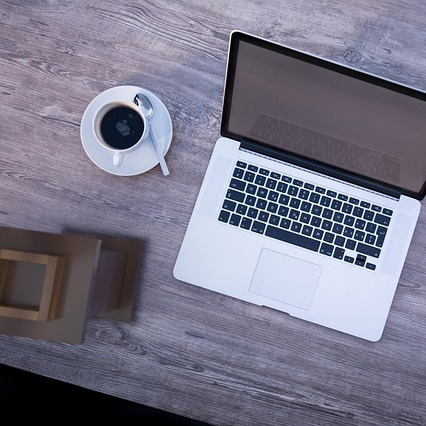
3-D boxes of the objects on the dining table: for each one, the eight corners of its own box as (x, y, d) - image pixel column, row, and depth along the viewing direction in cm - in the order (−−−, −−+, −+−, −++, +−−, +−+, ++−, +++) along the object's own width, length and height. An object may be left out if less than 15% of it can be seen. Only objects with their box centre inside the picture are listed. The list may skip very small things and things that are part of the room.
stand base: (52, 309, 102) (-28, 328, 77) (66, 231, 103) (-9, 224, 78) (131, 320, 102) (77, 342, 77) (144, 241, 103) (94, 238, 78)
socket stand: (-35, 327, 77) (-54, 331, 73) (-17, 223, 78) (-34, 221, 74) (84, 343, 77) (72, 348, 73) (101, 239, 78) (90, 239, 74)
